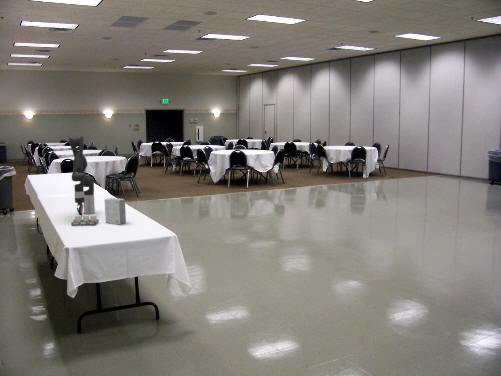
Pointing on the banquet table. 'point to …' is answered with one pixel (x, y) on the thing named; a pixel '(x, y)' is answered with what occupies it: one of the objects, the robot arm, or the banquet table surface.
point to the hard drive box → (115, 211)
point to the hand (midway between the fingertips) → (80, 217)
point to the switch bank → (85, 223)
